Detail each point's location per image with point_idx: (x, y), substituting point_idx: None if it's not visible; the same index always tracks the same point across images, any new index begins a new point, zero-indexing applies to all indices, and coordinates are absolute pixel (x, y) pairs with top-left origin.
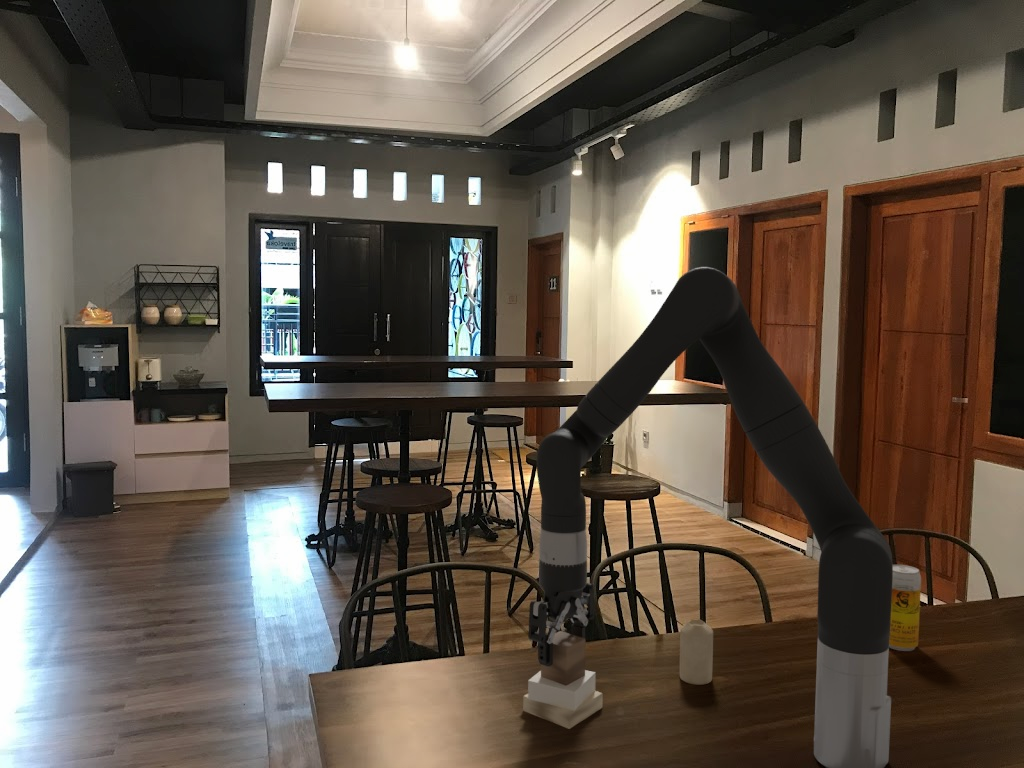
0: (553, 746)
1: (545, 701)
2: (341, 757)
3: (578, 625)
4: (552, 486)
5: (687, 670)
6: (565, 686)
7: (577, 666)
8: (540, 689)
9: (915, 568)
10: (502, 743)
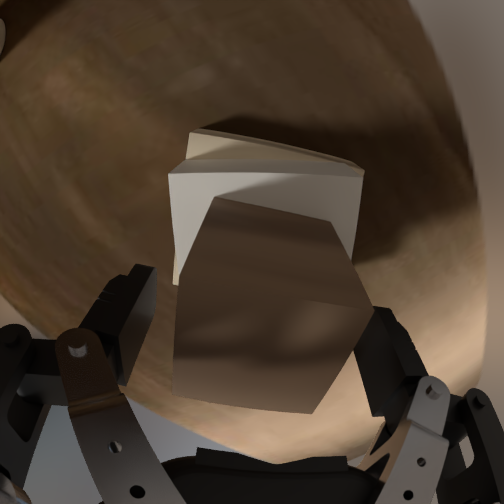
0: (432, 168)
1: None
2: (476, 383)
3: (113, 362)
4: None
5: None
6: (335, 221)
7: (265, 226)
8: None
9: None
10: (443, 262)
